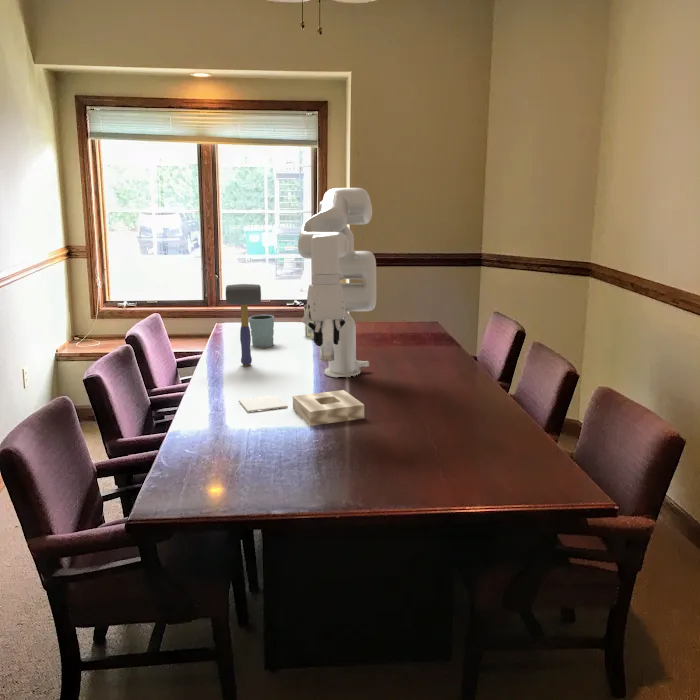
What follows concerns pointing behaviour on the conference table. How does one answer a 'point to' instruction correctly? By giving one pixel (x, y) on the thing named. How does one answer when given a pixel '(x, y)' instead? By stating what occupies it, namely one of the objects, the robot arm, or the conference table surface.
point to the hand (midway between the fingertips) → (326, 343)
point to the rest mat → (262, 403)
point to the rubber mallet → (244, 312)
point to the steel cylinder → (327, 341)
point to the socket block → (328, 407)
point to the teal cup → (262, 330)
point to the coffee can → (308, 331)
